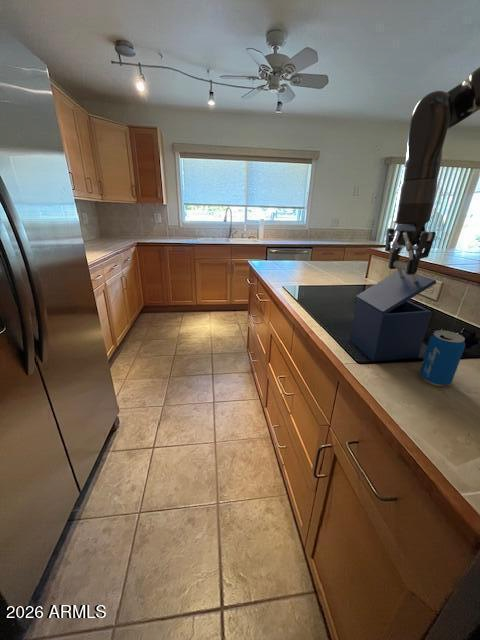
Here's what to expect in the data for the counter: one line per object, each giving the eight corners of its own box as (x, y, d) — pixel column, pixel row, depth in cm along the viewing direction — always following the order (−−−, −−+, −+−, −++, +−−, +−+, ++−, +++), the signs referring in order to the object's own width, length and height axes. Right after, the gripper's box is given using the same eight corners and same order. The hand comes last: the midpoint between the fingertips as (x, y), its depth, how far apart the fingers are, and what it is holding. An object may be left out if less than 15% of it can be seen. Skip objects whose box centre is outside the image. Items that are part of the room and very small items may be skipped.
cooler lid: (401, 271, 76) (395, 254, 73) (436, 283, 64) (430, 262, 62) (357, 298, 77) (349, 282, 75) (384, 314, 66) (376, 296, 63)
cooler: (389, 336, 84) (398, 296, 79) (418, 357, 73) (431, 311, 67) (349, 340, 83) (356, 299, 77) (373, 361, 71) (383, 315, 66)
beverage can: (412, 374, 66) (424, 332, 61) (431, 369, 67) (445, 327, 62) (437, 390, 60) (452, 344, 55) (457, 384, 62) (474, 339, 57)
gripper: (456, 199, 56) (436, 276, 62) (407, 201, 69) (395, 264, 75) (423, 201, 55) (407, 279, 62) (381, 202, 68) (371, 266, 75)
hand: (401, 271), depth 69 cm, fingers closed on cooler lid, 6 cm apart
